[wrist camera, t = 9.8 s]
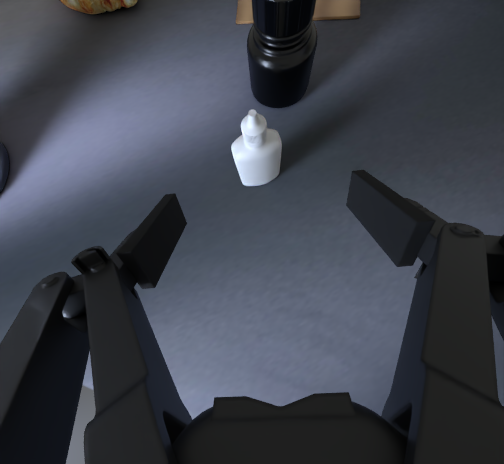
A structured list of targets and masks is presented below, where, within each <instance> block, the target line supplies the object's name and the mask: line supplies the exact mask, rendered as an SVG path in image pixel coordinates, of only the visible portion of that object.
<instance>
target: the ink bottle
mask: <svg viewBox="0 0 504 464" xmlns="http://www.w3.org/2000/svg"><path fill="white" fill-rule="evenodd" d="M315 5H316V0H252V14H253V22H254V24H253V26H252V27H251V29H250V32H249V35H248V39H247V53H248V62H249V71H250V81H251V89H252V92H253V95H254V97H255V98H256V99H257V100H258V101H259V102H260V103H261V104H263V105H265V106H268V107H272V108H284V107H288V106H291V105H293V104H295V103H296V102H298V101H299V100H300V99H301V98H302V97H303V95H304V94H305V92H306V90H307V87H308V83H309V78H310V74H311V69H312V65H313V60H314V55H315V51H316V46H317V30H316V27H315V24H314V22H313V21H312V19H313V15H314V11H315Z"/></svg>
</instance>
